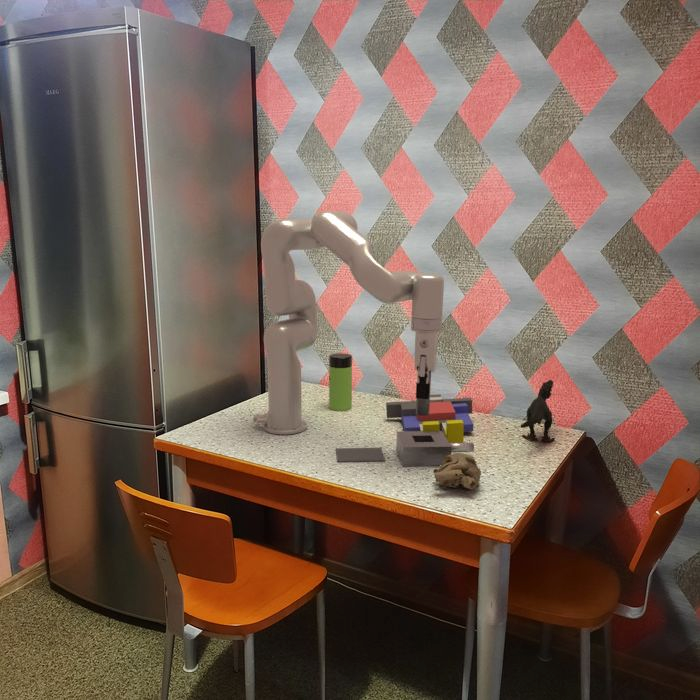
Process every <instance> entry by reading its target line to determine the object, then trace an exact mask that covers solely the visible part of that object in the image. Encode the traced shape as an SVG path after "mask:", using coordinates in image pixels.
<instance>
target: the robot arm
mask: <svg viewBox="0 0 700 700" xmlns="http://www.w3.org/2000/svg"><path fill="white" fill-rule="evenodd" d="M261 235H262V236H261V240H260V252H261V256H262V262H263V270H264V286H265V288H264V289H265V298H266V299H265V300H266V307H267V309H268V311H269V313H270V314H271V315H273V316H277V317H283V316H288V319H282V320H277V321H275V322H273V323H272V324H269V326H268V327H267V328H266V329H265V331H264V333H263V345H264V350H265V354H266V361H267V362H266V365H267V392H268V393H267V394H268V397H267V398H268V410H267V413H266V412H265V413H264V414H259V413H258V414H255V413H254V414H253V417H252V419H253V422H256V423H257V424H259V423H263V430H264V431H265V432H266V433H269V434H273V435H282V436H283V435H284V436H285V435H294V434H299V433H302V432H304V431H305V430H307V429H308V423H307V422H306V420H303V419H302V418H303V417H302V416H303V414H302V411H303V409H302V367H301V366H302V365H301V361H300V360H299V357H298V353H297V352H299V351H302V350H306V349H309V348H311V346H313V345H314V343H316V340H317V338H318V337H317V336H318V316H317V302H316V295H315V292H314V289H313V288H312V286H311V285H310V284H309V283H308V282H306V281H305V280H301V279H296V269H295V268H296V267H295V263H294V260H293V258H292V256H291V254H290V252H291V251H301V250H302V251H303V250H314V249H315V250H316V249H320V248H326V249H327V250H328V251H329V252H331V253H333V255H334V256H336V257H337V258H338V259H339V260H341V262H343V263H344V264H346V265H347V267H348V268H349V271H350V273H351V274H352V276H353V279H354V280H355V281H356V283H357V284H358V285H359V286H360V287H361V288H362V289H364V291H366V292H367V293H368V294H369V295H370V296H372V297H373V298H374V299H376V300H378V301H379V302H381V303H383V304H388V305H391V304H397V303H400V302H406V301H411V317H410V319H411V321H410V323H411V324H410V330H411V331H412V332H415V334H414V335H415V337H414V370H415V371H416V372H417V374H418V377H417V376H416V378H417V379H416V383H415V384H416V385H415V388H416V390H415V398H418V399H429V386H430V383H429V371H431V373H435V371H436V367H437V365H438V364H437V363H438V362H437V361H438V360H437V357H438V333H441V332H442V329H443V327H442V325H443V310H444V309H443V307H444V290H445V279H444V277H443V276H442V275H440V274H437V273H419V272H414V271H410V270H399V271H391V272H390V271H389V270H388V269H386V268H385V267H383V265H381V264H380V263H379V262H377V261H376V260H375V259H374V257H373V256H372V255H371V250H372V243H371V242H372V241H370V239H369V238H368V237H366V236H365V235H364V234H362V233H361V232H360V231H359V230H358V223H357V220H356V218H355V217H354V216H353V215H352V214H351V213H349V212H346V211H343V210H342V211H340V210H337V211H335V210H326V211H325V210H324V211H321V212H319V213H317V214H316V215H315V216H314V217H311V218H297V217H296V218H295V217H294V218H292V217H291V218H290V217H289V218H281V219H278V220H275V221H273V222H271V223H270V224H269V225H268V226H266V228H265V229H264V231H263V233H262V234H261ZM427 368H428V370H427V371H425V369H427ZM425 374H427V376H426V375H425Z"/></svg>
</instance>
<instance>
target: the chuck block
mask: <svg viewBox="0 0 700 700" xmlns="http://www.w3.org/2000/svg"><path fill="white" fill-rule="evenodd" d="M395 445H396V447H395V448H396V449H395V450H396V452H397V455H398V457H399V461H400V463H401V466H402V467H407V468H408V467H440V465H441V464H442V462H443V461H444V459H445V457H446V456H448V455H451V454H452V453H474V452H475V445H474V442H464V443H449V442H448V440H447V439H446V437H445V435H444V434H443V431H442V430H440V431H401V430H400V431H396V444H395ZM438 465H439V466H438Z"/></svg>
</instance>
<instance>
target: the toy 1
mask: <svg viewBox="0 0 700 700" xmlns="http://www.w3.org/2000/svg"><path fill="white" fill-rule="evenodd" d="M385 407H386V408H385V410H386V418H387V419H396V418H401V422H402V426H403V430H404V431H442V432H443V434H444V435H445V437H446V439H447V440H448V442H449V443H465V440H464V439H465V438H464V437H465V436H464V433H465V432H474V423H473V421H472V419H471V417H470V414H473V400H472V398H471V397H462V398H460V397H458V398H444V399H443V398H442V395H441V393H440V394H430V408H429V415H427V416H420V415H417V414H416V400H407V401H406V400H404V401H389V402H387V401H386V403H385Z"/></svg>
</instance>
